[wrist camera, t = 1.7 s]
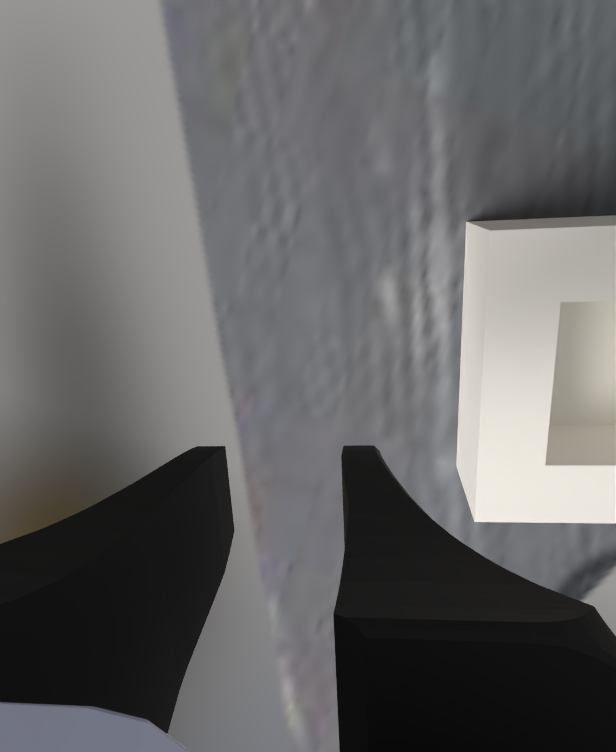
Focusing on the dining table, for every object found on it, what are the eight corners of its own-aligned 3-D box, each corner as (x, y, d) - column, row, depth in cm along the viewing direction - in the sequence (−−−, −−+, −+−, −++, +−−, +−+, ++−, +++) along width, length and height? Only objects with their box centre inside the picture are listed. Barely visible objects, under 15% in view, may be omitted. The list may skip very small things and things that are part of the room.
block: (705, 463, 21) (780, 524, 17) (455, 463, 22) (474, 521, 18) (754, 208, 18) (858, 215, 14) (465, 221, 19) (490, 230, 15)
